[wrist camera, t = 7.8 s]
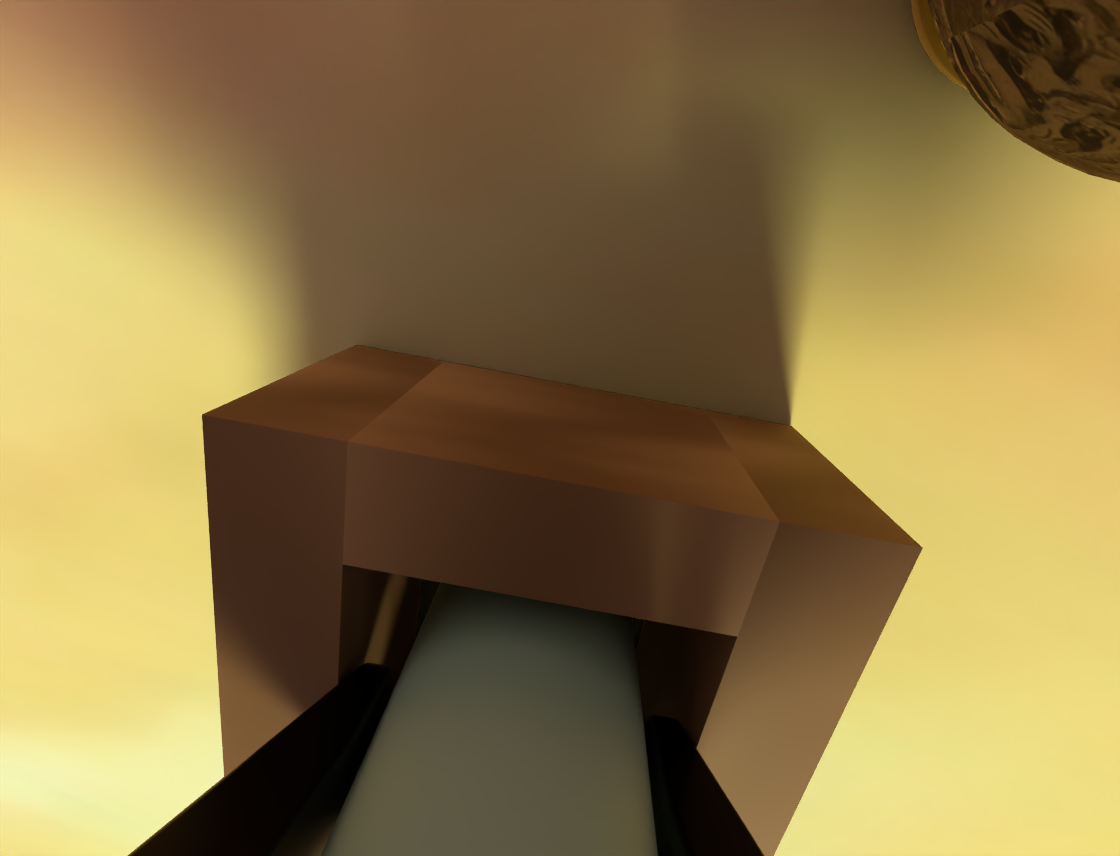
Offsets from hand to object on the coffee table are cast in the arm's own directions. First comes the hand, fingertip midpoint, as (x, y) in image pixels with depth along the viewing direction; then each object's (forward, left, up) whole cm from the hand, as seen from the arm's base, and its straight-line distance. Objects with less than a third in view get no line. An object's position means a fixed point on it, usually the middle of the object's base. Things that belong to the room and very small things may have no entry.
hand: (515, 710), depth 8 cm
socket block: (0, 0, -4) cm, 4 cm away
